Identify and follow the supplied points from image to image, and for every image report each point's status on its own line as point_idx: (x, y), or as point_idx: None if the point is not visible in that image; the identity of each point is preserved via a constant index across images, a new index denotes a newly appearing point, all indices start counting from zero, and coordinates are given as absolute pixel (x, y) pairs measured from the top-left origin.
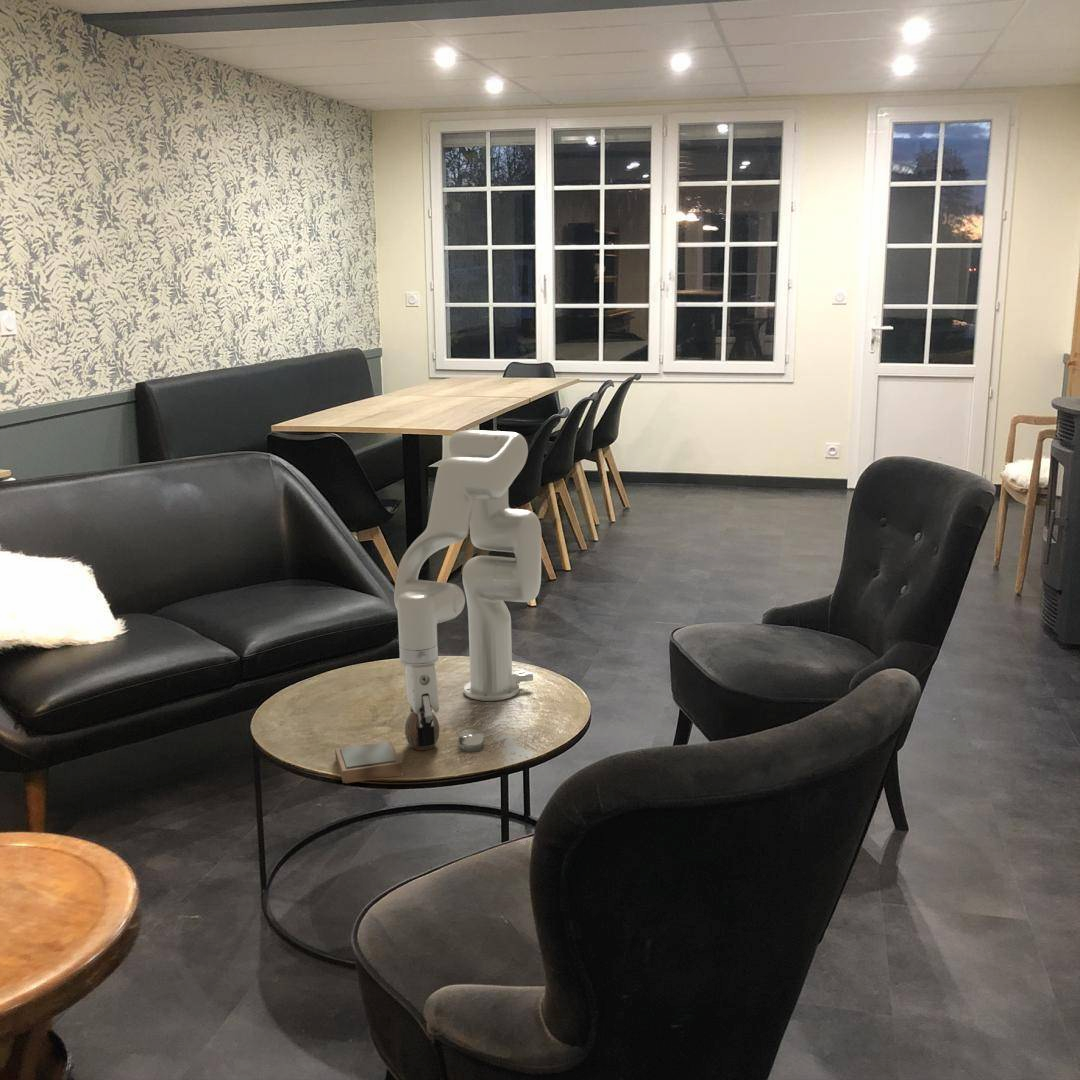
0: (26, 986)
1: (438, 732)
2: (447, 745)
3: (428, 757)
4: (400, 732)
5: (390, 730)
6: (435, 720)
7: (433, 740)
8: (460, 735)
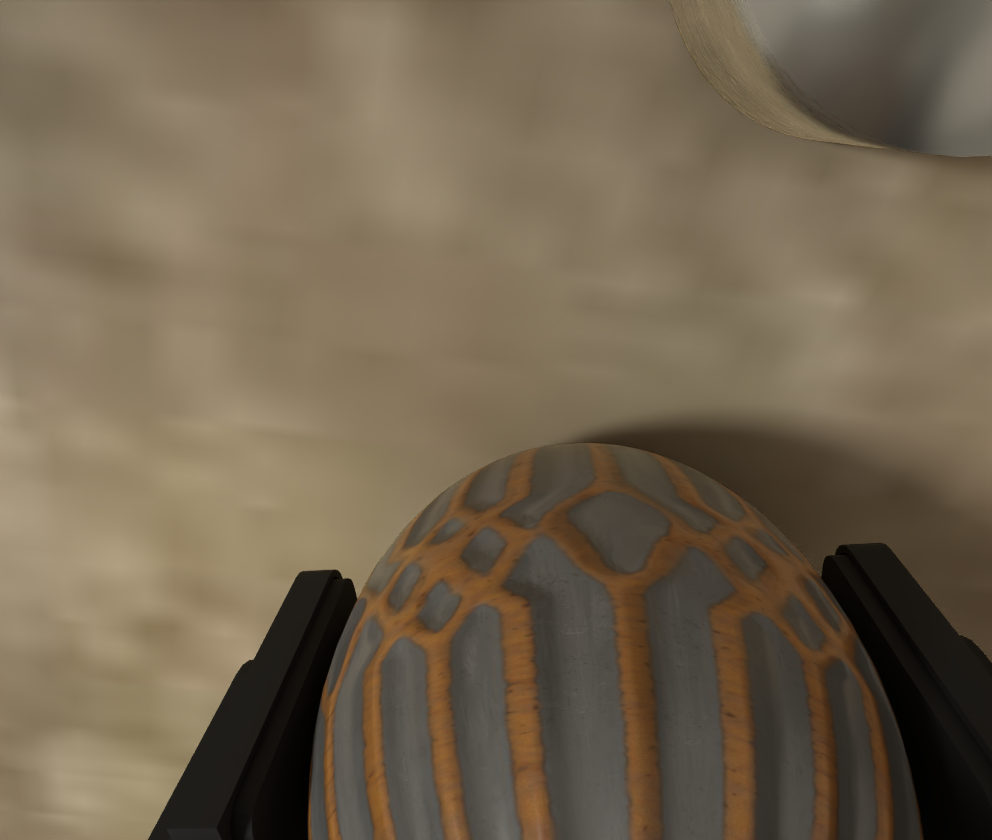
0: None
1: (738, 521)
2: (637, 287)
3: (903, 539)
4: (176, 685)
5: (128, 743)
6: (809, 760)
7: (910, 586)
8: (983, 100)
